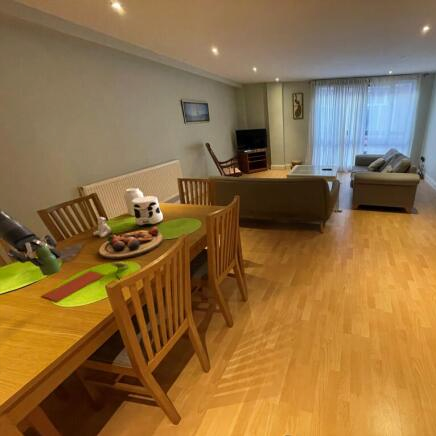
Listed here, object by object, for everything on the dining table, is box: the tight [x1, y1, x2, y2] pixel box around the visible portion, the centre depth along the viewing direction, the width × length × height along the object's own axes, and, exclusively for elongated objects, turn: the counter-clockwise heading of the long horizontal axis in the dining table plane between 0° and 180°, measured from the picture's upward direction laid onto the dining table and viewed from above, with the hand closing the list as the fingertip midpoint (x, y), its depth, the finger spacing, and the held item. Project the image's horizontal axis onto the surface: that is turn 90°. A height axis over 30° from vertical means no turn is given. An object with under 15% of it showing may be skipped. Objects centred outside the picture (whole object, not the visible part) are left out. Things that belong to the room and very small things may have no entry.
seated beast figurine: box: [92, 216, 112, 239], centre depth 154 cm, size 10×9×12 cm
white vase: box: [123, 187, 144, 217], centre depth 187 cm, size 12×12×20 cm
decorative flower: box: [110, 261, 130, 280], centre depth 115 cm, size 8×6×15 cm
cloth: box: [42, 270, 105, 303], centre depth 108 cm, size 19×10×1 cm, turn 160°
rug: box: [57, 243, 84, 263], centre depth 134 cm, size 10×20×1 cm, turn 26°
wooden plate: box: [98, 226, 163, 260], centre depth 141 cm, size 32×32×8 cm
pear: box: [34, 244, 62, 277], centre depth 96 cm, size 6×6×13 cm
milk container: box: [132, 195, 164, 227], centre depth 170 cm, size 17×17×18 cm
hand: (50, 261), depth 97 cm, fingers closed on pear, 5 cm apart
